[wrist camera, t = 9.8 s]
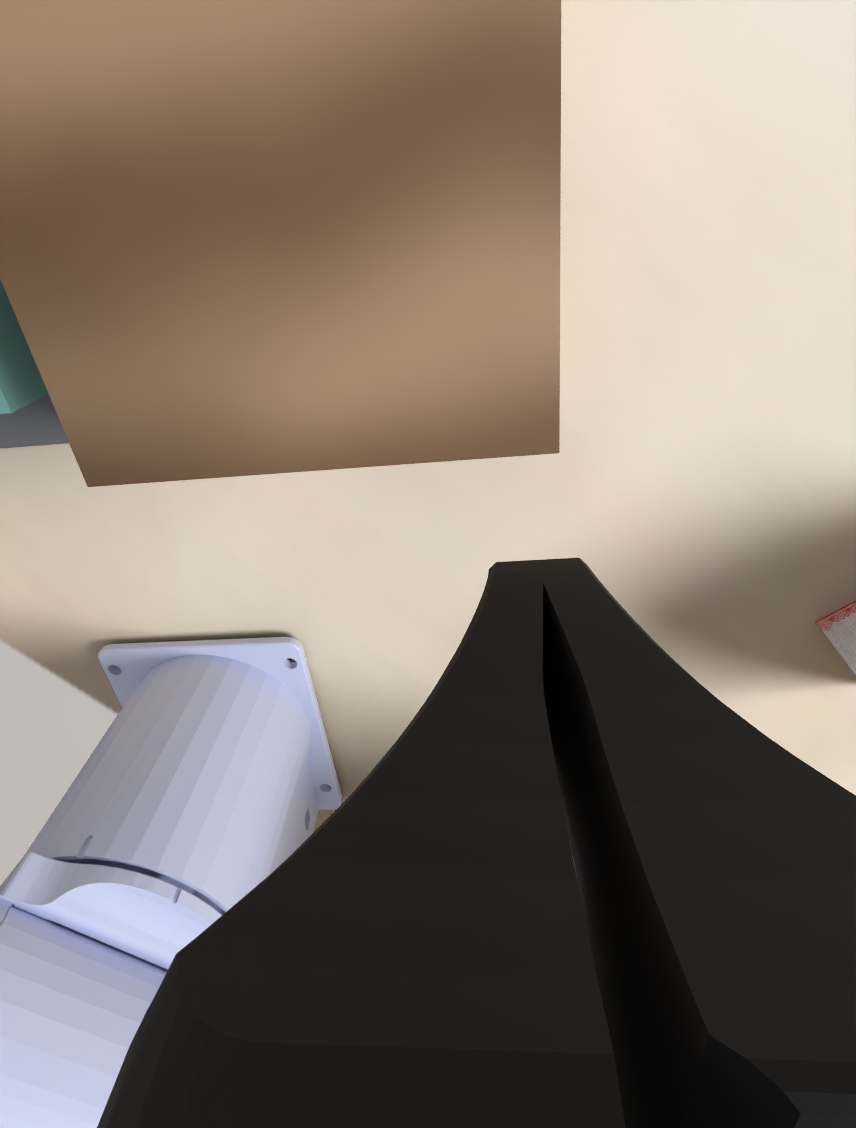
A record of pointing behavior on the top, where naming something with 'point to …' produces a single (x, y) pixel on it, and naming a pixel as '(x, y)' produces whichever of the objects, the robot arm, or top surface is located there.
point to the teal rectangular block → (16, 363)
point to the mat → (32, 426)
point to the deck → (285, 229)
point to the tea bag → (842, 632)
